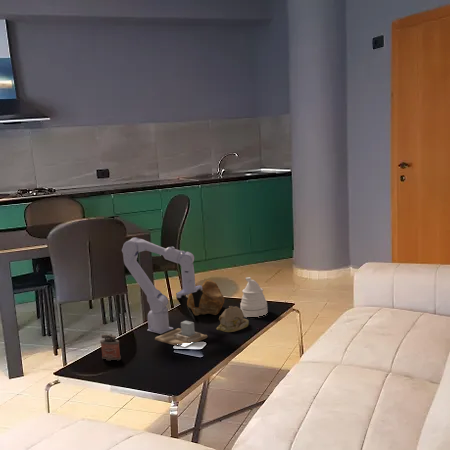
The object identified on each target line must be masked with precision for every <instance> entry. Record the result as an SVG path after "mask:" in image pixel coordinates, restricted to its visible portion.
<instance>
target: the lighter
mask: <svg viewBox="0 0 450 450" xmlns="http://www.w3.org/2000/svg"><path fill="white" fill-rule="evenodd" d="M100 337H101V340H100V341H99V343H100V345H101V346H100V347H101V354H102V355H101V359H102V360H103V359H106V360H105V361H111V360H117V361H120V360H121V359H122V356H121V354H120V352H121V351H120V340H118V339H116V338H117V336H116V335H113V334H101V335H100Z"/></svg>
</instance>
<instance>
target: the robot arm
mask: <svg viewBox="0 0 450 450" xmlns="http://www.w3.org/2000/svg"><path fill="white" fill-rule="evenodd" d="M145 251H147V252H150V253H154V254H156V255H160V256H163V258H164V260H167V261H169V262H172V263H176V264H179V265H180V266H181V267H180V268H181V271H180V272H181V282H182V283H181V284H182V289H181V290H180V291H178V292H176V294H175V295H176V296H175V298H176V300H177V301H178V303H179V305H180V307H181V310H182V312H184V313H187V312H188V306H187V301H188V297H189V294H191V293H192V295H193V299H194V306H195V307H199V304H200V299H201V296H202V294H203V291H201V290H202V285H200V284H199V285H197V286H195V284H196V278H195V277H196V275H195V268H194V261H195V255H194V254H193V253H192V252H190V251H185V250H180V249H176V247H174V246H168V247H166V248H165V247H162V246H160V245H157V244H155V243H152V242H151V241H147V240H145V239H143V238H139V237H135V236H134V237H132V238H130V239H128V240H126V241H125V242H124V243H123V246H122V248H121V252H122V257H123V259H122V260H123V264H124V266H125V267H126V269H127V270H128V271H129V273H130V274H131V276H132V277H133V279H134V280H135V282H136V283H137V284H138V285H139V287H140V288H141V290H142V291H143V293H144V294H145V296H146V301H147V303H148V304H149V309H150V310H149V311H148V313H147V324H148V325H147V326H148V327H147V328H148V329H147V332H151V333H155V334H160V335H163V334H165V333H168V332H170V331H173V330H174V327H172V326H170V323H169V322H170V321H169V310H168V308H167V307H168V304H169V299H168V297H167V296H166V295H165V294H163V293H162V292H161V290H159V289H157V288H156V286H155V285H154V284H153V282H152V280H151V279H150V278H149V276H148V275H147V273H146V272H145V270H144V269H143V268H142V267H141V264H140V263H139V262H138V261H137V260H138V255H139V253H141V252H145ZM187 295H188V297H186V296H187Z"/></svg>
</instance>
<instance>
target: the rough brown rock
mask: <svg viewBox="0 0 450 450" xmlns="http://www.w3.org/2000/svg"><path fill="white" fill-rule="evenodd" d="M195 286H198V285H197V284H196V283H195ZM201 286H202V290H201V291H203V294H202V296H201V299H200V304H199V307H195V306H194V299H193V295H192V293H191V294H188V301H187V308H188V309H191V311H192V313H193V315H194V316H196V317H197V316H199V315H207V314H210V315H213V316H217V315H218V314H219V313H220V311H221V310H222V308H223V305H224V304H225V297H224V295H223V294H222V292H221V290H220V288H219V286H218V284H217V283H216V282H215V281H214V280H211V279H206V280H204V281H203V283H202V285H201Z"/></svg>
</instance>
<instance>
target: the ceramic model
mask: <svg viewBox="0 0 450 450" xmlns="http://www.w3.org/2000/svg"><path fill="white" fill-rule="evenodd" d="M218 320H219V323H220V324H219V325H218V326H217V327H216V328H215V329H216V330H217V331H222V332H225V333H232V332H237V331H240V330H244V329H245V328H247V327H249V323H250V322H249V321H250V320H249V319H247V318H245V317H244V314H243V312H242V310H241V307H239V306H233V305H229V306H228V308H225V309H224V311H223V312H222V313H221V315H219V318H218Z"/></svg>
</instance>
